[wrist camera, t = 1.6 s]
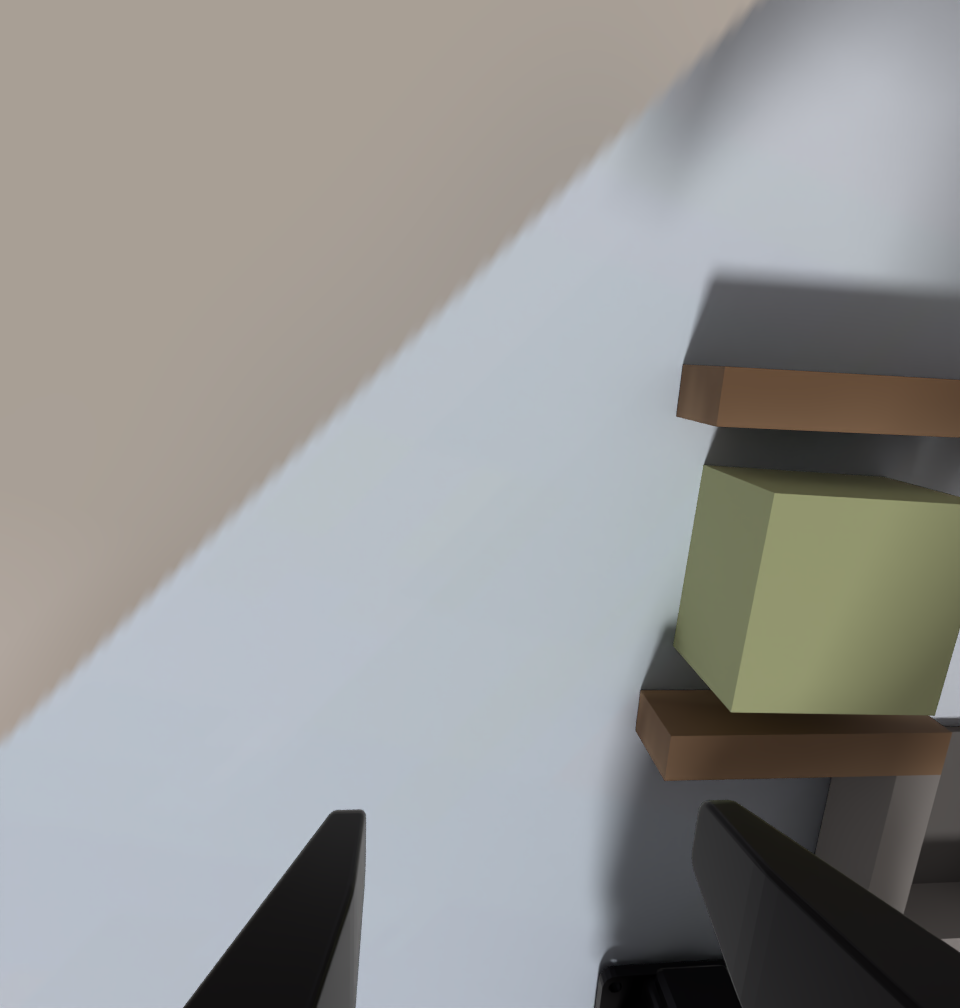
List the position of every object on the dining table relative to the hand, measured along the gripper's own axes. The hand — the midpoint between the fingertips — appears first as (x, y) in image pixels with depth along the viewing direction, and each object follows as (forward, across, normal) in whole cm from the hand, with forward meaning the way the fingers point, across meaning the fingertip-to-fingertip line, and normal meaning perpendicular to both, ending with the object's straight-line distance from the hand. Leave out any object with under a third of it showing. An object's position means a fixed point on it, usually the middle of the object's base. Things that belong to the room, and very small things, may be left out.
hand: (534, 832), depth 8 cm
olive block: (+11, -10, 0) cm, 15 cm away
